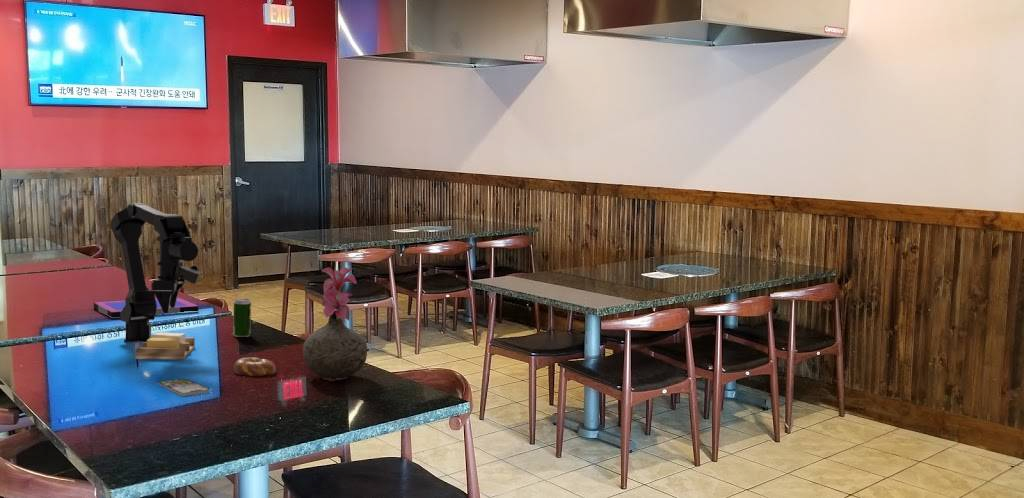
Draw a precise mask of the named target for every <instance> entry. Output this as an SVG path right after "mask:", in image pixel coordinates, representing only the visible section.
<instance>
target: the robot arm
mask: <svg viewBox="0 0 1024 498" xmlns="http://www.w3.org/2000/svg"><path fill="white" fill-rule="evenodd" d="M146 223H147V224H149V225H151V226H153V230H154V231H155V232H156V233H157V234H159V235H158V236H157V238H156V239H155V241H157V242H159V261H157V265H158V266H159V269H158V270H159V271H158V273H159V274H158V275H157V278H156V279H155V280H153V282H151V285H150V286H151V289H149V288H148V286H147V284H146V277H145V272H144V265H143V261H142V257H141V256H142V255H141V251H140V245H139V240H140V238H141V236H142V234H143V230H142V229H143V227H144V226H145V224H146ZM110 228H111V231H112V235H113V237H114V238H115V239H116V240H117V241H118V242H119V243H120V245H121V251H122V256H123V262H124V268H125V274H126V279H127V285H128V292H127V295H126V296H125V299H124V301H125V303H126V305H125V306H124V308H123V310H122V311H121V313H120V321H121V322H124V323H125V338H124V339H123V342H130V343H131V342H139V343H141V342H142V343H143V342H147V340H148V337H152V324H151V323H150V321H153V320H155V318H156V316H155V314H156V309H157V304H156V303H157V302H156V300H155V299H158V302H159V304H160V306H161V308H162V310H163V312H164V313H168V310H169V305H170V307H171V308H174V307H175V304H176V300H177V297H178V298H179V296H178V295H179V292H180V289H181V288H183V287H184V286H185V285H186V282H189V283H191V284H196V283H198V281H199V278H200V276H201V275H202V272H201V271H200V270H199V266H198V265H195V264H193V265H192V266H191V267H189V266H185V265H184V262H192V261H194V260H195V259H196V258H197V256H198V254H199V249H198V246H197V244H196V243H195V242H193V237H192V236H191V232H190V230H189V228H188V226H187V223H186V221H185V219H184V217H183V216H182V215H181V214H176V213H175V214H174V213H164V212H162V211H160V210H157V209H156V208H153V207H151V206H149V205H147V204H146V203H142V202H141V203H140V202H138V203H135V202H134V203H133V202H132V203H129V204H128V205H127V206H126V208H124V209H122V210H120V211H118V212H117V213H115V215H114V216H113V217H112V219H110ZM183 261H184V262H183Z"/></svg>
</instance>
